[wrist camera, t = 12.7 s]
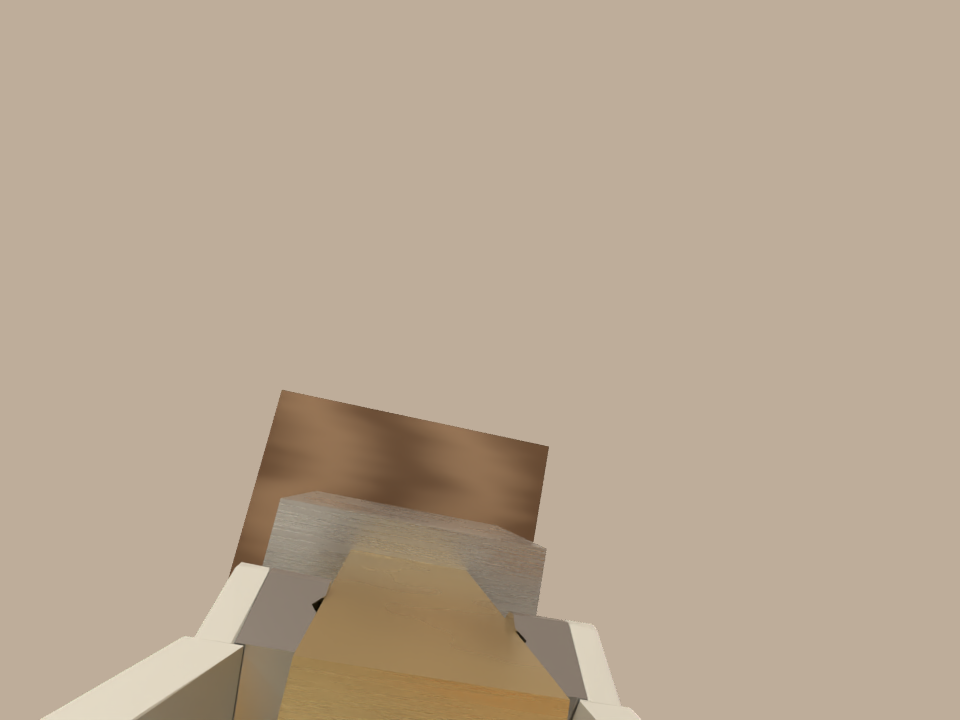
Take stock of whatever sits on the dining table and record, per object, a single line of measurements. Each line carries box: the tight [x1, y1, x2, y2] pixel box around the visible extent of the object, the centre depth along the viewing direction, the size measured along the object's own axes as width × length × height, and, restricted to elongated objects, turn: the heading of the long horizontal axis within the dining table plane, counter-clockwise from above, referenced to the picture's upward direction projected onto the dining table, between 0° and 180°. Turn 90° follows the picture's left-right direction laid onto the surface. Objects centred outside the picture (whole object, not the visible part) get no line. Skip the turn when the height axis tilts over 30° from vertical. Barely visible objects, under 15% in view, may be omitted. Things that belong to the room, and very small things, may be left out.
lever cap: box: [262, 491, 570, 720], centre depth 13 cm, size 7×16×2 cm, turn 9°
